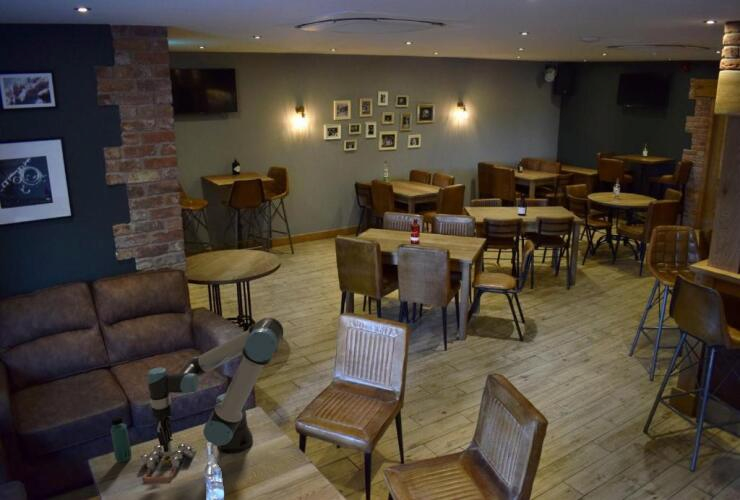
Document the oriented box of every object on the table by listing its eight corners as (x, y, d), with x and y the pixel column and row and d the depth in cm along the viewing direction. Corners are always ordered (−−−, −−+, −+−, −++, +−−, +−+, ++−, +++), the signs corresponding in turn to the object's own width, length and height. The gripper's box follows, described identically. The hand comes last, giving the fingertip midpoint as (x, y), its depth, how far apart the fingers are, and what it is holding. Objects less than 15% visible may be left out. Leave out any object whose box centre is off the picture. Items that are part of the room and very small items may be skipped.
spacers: (195, 453, 245) (193, 442, 244) (186, 470, 233) (185, 459, 232) (149, 455, 245) (147, 445, 244) (138, 472, 233) (137, 461, 232)
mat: (197, 453, 246) (197, 451, 246) (188, 471, 234) (187, 469, 234) (150, 455, 246) (150, 453, 246) (138, 474, 234) (138, 472, 234)
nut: (171, 459, 241) (171, 453, 240) (174, 464, 237) (173, 459, 237) (162, 462, 239) (161, 457, 239) (164, 468, 235) (163, 462, 235)
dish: (176, 472, 233) (176, 467, 233) (171, 482, 227) (170, 476, 227) (149, 474, 233) (148, 468, 233) (143, 484, 227) (142, 478, 227)
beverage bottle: (126, 466, 240) (119, 422, 235) (112, 464, 241) (104, 421, 236) (135, 457, 246) (128, 414, 241) (121, 455, 247) (114, 413, 243)
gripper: (157, 397, 241) (164, 448, 247) (146, 413, 229) (153, 466, 234) (175, 397, 241) (182, 447, 247) (164, 413, 229) (172, 465, 234)
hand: (168, 456), depth 240 cm, fingers closed
